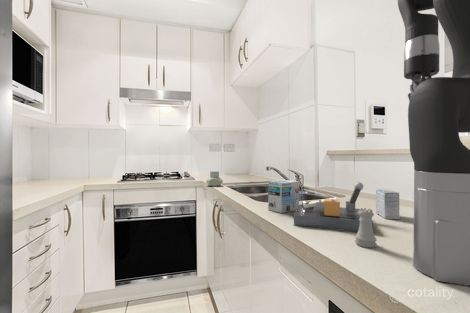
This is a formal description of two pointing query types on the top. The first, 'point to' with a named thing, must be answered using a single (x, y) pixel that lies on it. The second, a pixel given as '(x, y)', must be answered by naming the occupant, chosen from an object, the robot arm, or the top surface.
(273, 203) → the light bulb box
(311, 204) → the rocker paddle
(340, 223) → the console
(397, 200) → the medicine box
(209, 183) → the air freshener
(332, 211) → the slider knob
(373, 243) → the rook chess piece
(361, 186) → the lever
